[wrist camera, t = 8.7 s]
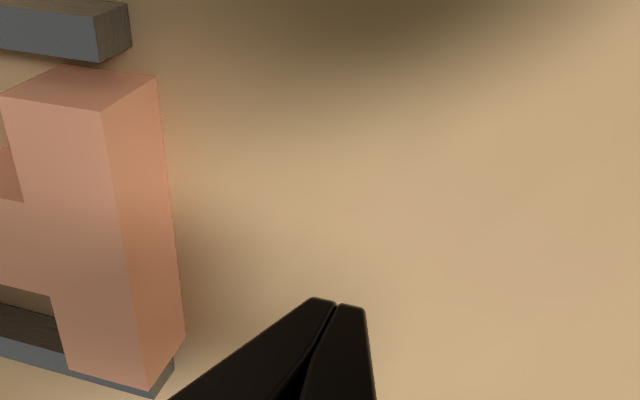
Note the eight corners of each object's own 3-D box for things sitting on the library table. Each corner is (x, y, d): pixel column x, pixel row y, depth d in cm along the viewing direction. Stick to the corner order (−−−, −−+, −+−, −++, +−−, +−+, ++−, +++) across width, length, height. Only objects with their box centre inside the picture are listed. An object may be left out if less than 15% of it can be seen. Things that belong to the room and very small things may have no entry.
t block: (156, 76, 22) (100, 112, 19) (186, 336, 29) (148, 391, 26) (-103, 40, 25) (-186, 66, 22) (-21, 285, 32) (-76, 329, 29)
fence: (126, 3, 21) (92, 17, 19) (174, 369, 30) (154, 399, 29) (-163, -31, 24) (-213, -21, 22) (-38, 312, 33) (-68, 337, 32)
